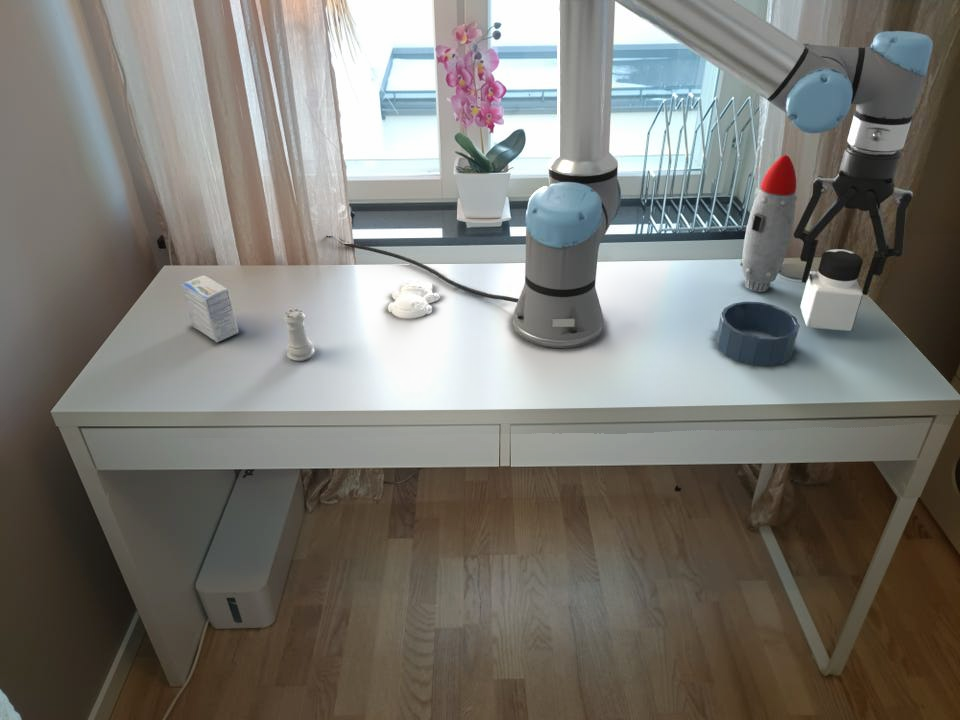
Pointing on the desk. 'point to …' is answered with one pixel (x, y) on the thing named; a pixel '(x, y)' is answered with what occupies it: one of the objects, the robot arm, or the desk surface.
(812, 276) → the medicine bottle
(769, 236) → the toy rocket
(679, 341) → the desk surface
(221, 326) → the medicine box
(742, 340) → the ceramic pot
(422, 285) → the astronaut figurine
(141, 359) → the desk surface
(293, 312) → the rook chess piece
